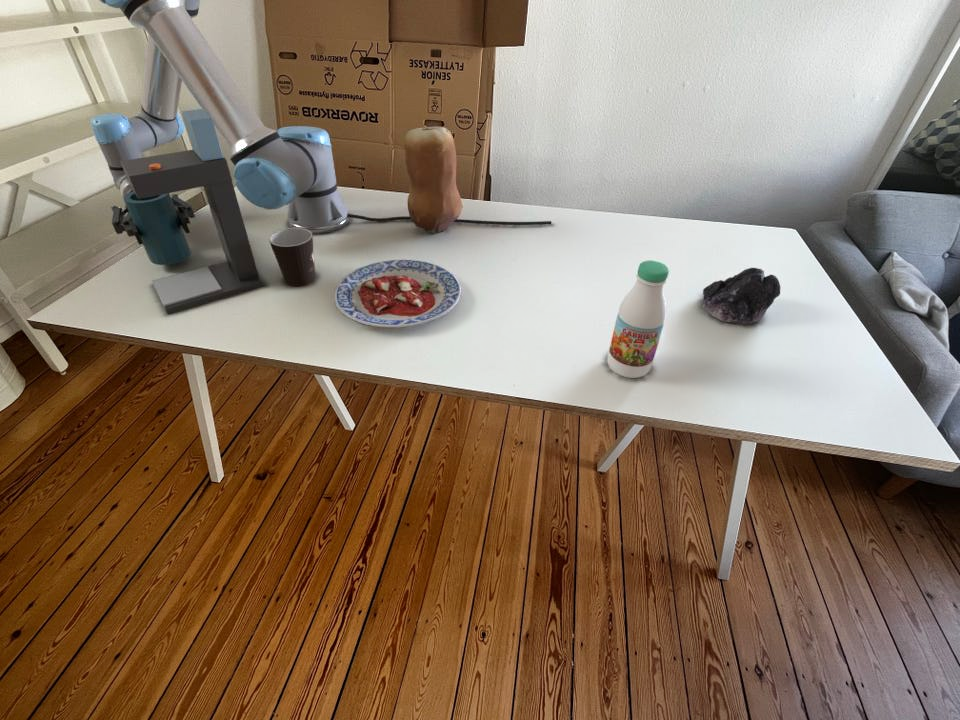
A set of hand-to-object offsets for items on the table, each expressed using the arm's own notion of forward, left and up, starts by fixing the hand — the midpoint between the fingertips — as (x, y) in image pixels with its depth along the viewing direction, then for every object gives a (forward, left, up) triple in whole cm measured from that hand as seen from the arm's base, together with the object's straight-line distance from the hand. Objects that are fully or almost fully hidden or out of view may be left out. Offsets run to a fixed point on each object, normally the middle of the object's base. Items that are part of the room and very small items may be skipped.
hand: (162, 232), depth 108 cm
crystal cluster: (-117, +23, -10) cm, 120 cm away
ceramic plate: (-48, +14, -10) cm, 51 cm away
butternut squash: (-57, -18, -10) cm, 61 cm away
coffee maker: (-8, +6, -10) cm, 14 cm away
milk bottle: (-89, +39, -10) cm, 98 cm away
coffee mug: (-27, +3, -10) cm, 29 cm away
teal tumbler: (+2, -4, -8) cm, 9 cm away
